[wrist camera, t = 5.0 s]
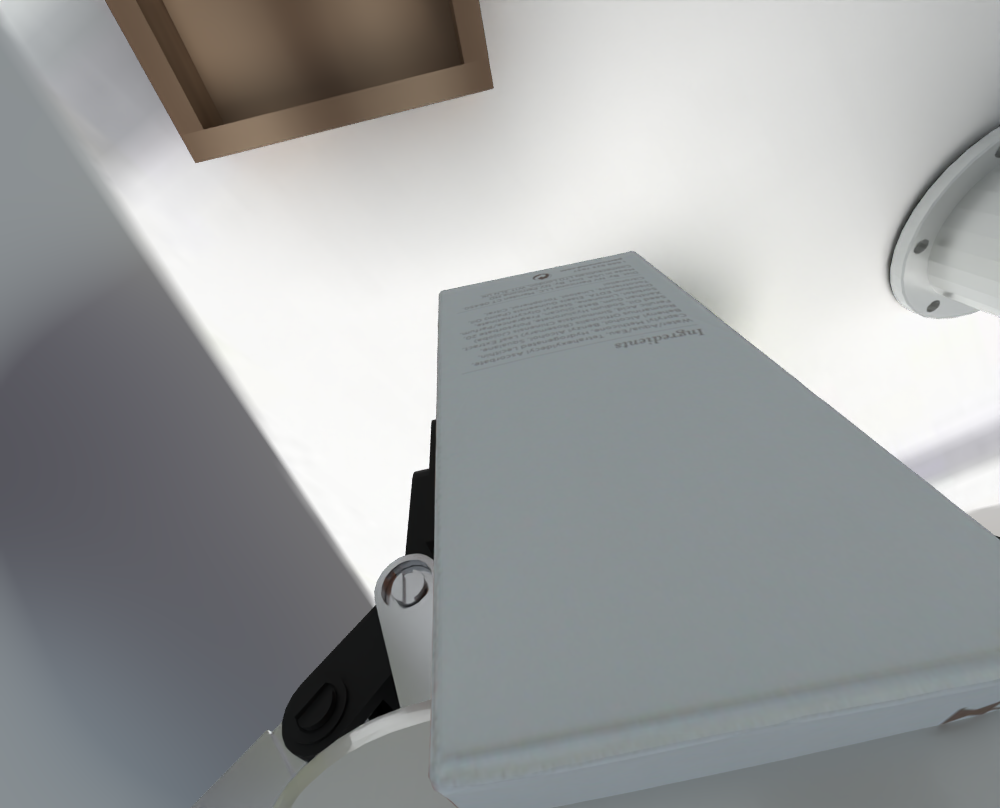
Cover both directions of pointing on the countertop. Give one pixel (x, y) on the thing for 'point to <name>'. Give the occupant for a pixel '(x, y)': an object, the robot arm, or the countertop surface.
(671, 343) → the small box
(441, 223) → the countertop surface
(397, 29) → the walnut tray
